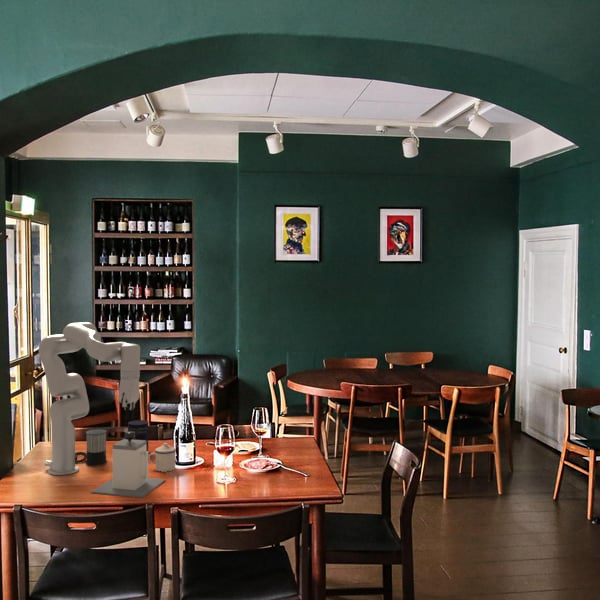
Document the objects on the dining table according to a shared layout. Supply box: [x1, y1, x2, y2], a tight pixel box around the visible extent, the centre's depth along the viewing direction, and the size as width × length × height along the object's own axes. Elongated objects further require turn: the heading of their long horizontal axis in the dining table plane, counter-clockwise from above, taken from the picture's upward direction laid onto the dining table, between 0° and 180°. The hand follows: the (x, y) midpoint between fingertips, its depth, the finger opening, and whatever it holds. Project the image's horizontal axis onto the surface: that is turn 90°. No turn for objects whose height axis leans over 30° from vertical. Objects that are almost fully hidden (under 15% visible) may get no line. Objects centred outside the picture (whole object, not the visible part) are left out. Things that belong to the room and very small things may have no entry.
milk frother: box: [75, 428, 108, 467], centre depth 301 cm, size 14×16×15 cm
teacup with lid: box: [148, 442, 177, 473], centre depth 293 cm, size 12×9×12 cm
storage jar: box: [127, 419, 149, 452], centre depth 319 cm, size 10×10×15 cm
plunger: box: [124, 431, 135, 443], centre depth 268 cm, size 4×4×18 cm
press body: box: [111, 438, 149, 490], centre depth 268 cm, size 13×10×18 cm
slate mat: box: [90, 477, 166, 499], centre depth 268 cm, size 22×22×1 cm
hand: (129, 419), depth 267 cm, fingers closed
